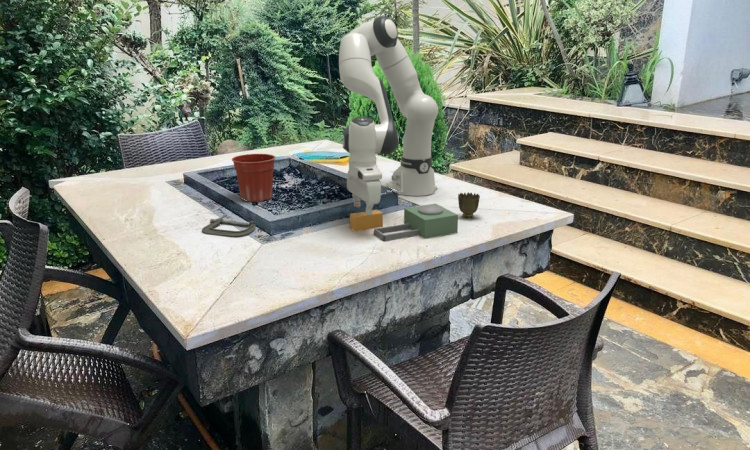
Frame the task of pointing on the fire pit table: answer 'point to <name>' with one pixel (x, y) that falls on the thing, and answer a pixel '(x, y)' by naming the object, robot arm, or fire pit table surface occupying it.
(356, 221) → the orange rectangular block
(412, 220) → the box with open drawer
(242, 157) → the flower pot
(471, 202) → the cup
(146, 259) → the fire pit table surface
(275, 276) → the fire pit table surface
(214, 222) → the c clamp
